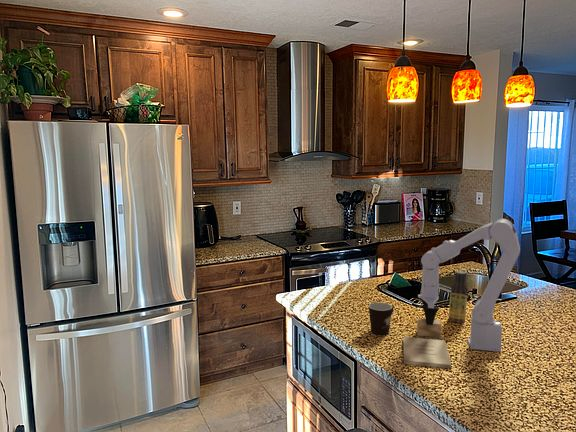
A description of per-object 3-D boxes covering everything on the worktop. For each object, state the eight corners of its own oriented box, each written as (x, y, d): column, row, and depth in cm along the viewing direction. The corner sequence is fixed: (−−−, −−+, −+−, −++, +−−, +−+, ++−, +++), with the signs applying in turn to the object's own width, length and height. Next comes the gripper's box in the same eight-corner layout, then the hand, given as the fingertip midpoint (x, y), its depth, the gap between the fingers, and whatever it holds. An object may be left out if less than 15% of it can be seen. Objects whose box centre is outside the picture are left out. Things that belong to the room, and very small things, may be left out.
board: (444, 343, 149) (444, 340, 149) (451, 368, 132) (451, 364, 131) (403, 339, 152) (403, 336, 152) (404, 363, 135) (404, 360, 135)
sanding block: (439, 334, 157) (440, 320, 156) (440, 339, 153) (441, 324, 152) (416, 332, 159) (417, 318, 158) (417, 336, 155) (417, 322, 154)
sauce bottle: (447, 321, 168) (449, 272, 165) (449, 316, 173) (451, 268, 171) (465, 324, 165) (467, 274, 162) (466, 319, 170) (469, 270, 168)
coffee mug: (374, 338, 154) (375, 311, 153) (364, 329, 162) (364, 303, 161) (403, 334, 157) (404, 308, 156) (391, 325, 165) (392, 300, 164)
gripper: (417, 277, 161) (416, 312, 163) (419, 289, 147) (418, 327, 149) (437, 279, 159) (435, 313, 161) (441, 291, 145) (439, 329, 147)
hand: (428, 320), depth 155 cm, fingers open, 7 cm apart
